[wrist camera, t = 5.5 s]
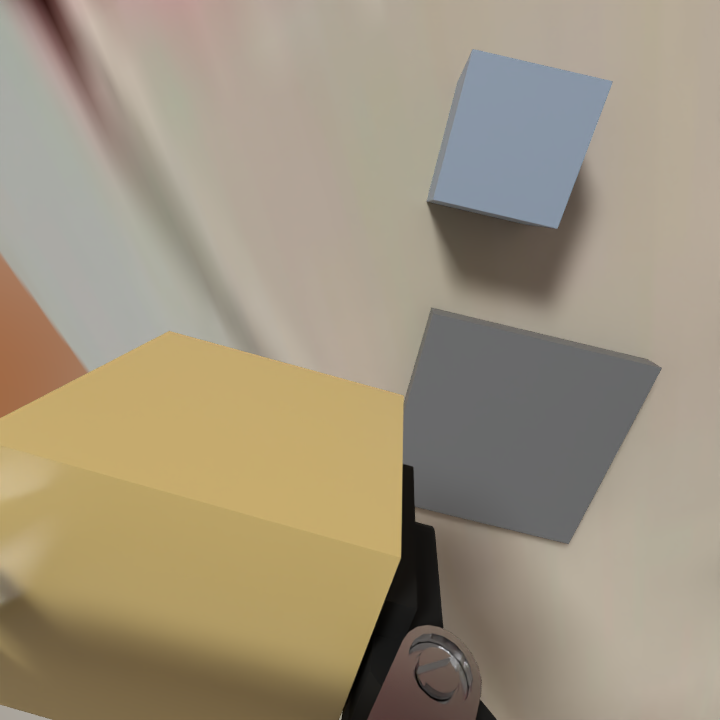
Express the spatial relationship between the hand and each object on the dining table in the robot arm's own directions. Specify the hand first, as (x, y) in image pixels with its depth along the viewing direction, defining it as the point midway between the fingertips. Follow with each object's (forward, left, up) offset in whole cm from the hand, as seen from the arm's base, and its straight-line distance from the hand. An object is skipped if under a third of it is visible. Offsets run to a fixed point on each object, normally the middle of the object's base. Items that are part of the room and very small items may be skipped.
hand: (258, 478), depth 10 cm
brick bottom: (0, 0, -1) cm, 1 cm away
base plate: (-12, +5, -17) cm, 22 cm away
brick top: (-6, -11, -17) cm, 21 cm away
